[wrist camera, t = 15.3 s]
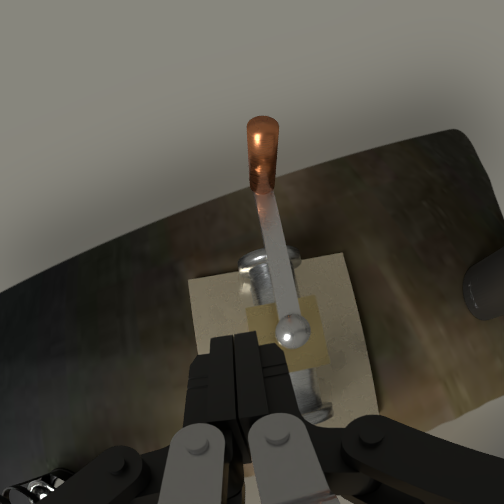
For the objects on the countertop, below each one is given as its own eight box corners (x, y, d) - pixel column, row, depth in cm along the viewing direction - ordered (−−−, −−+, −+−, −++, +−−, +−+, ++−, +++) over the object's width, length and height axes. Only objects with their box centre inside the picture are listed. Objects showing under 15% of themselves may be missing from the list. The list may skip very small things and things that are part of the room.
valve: (339, 256, 40) (366, 217, 29) (375, 416, 32) (417, 431, 22) (190, 283, 39) (165, 251, 28) (218, 450, 31) (202, 482, 21)
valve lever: (310, 345, 25) (337, 335, 16) (278, 352, 25) (288, 345, 16) (272, 177, 31) (276, 111, 22) (245, 180, 31) (241, 115, 22)
